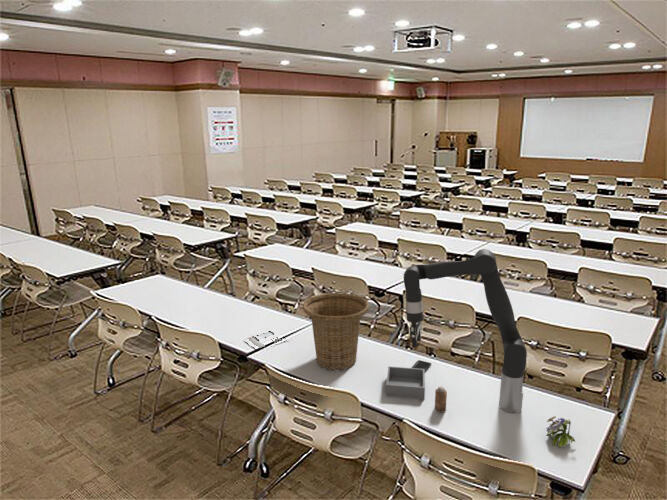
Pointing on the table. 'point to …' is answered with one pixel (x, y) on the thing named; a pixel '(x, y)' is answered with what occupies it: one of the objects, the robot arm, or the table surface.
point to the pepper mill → (440, 399)
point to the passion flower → (557, 427)
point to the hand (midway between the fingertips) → (416, 344)
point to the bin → (405, 382)
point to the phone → (422, 365)
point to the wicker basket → (336, 327)
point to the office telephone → (261, 343)
